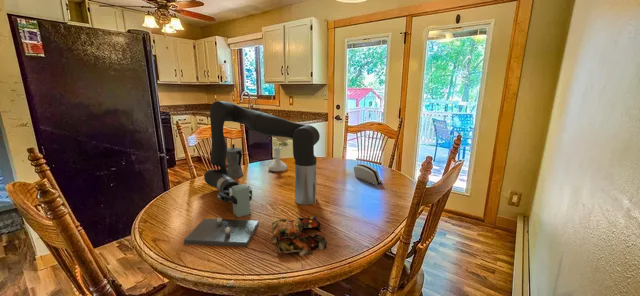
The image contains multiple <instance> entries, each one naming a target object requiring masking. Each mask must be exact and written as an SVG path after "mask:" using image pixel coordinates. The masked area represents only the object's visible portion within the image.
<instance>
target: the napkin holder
mask: <svg viewBox="0 0 640 296" xmlns="http://www.w3.org/2000/svg"><path fill="white" fill-rule="evenodd" d="M353 173H354V177H355V178H357V177H358V179H360V178H361V179H360V180H362V179H363V181H365V180H366V181H365V182H367V181H368V182H367V183H370V182H371V183H370V184H372V183H374V184H381V183H380V182H382V183H383V181H382V179H380V175H379V172H378V169H375V168H374V167H373V166H371V165H368V164H365V163H358V164H356V165H354V166H353ZM374 184H373V185H374Z"/></svg>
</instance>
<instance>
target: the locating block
mask: <svg viewBox="0 0 640 296" xmlns="http://www.w3.org/2000/svg"><path fill="white" fill-rule="evenodd" d="M248 186H249V185H246V184H245V183H242V184H239V185H237V186H232V195H233V196H234V197H235V198H236V199H237V204H236V205H235V204H233V203H232V213H233V214H234V215H235V216H236V217H237V218H241V217H245V216H247V215H251V201H250V199H249V187H248Z"/></svg>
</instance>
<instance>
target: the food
mask: <svg viewBox="0 0 640 296" xmlns="http://www.w3.org/2000/svg"><path fill="white" fill-rule="evenodd" d="M296 219H297V220H296V221H297V226H296V223H295V220H294V219H293V220H287V219H286V218H280V219H277V220H275V221H274V222H272V234H273V235H272V236H273V237H272V238H271V239H270V242H271V243H273V244H277V245H276V246H277V251H278V253H282V254H284V253H298V255H299V256H309V255H312V254H313V252H314V251H317V249H319V250H322V251H323V250H325V249H326V248H327V243H328V241H327V240H326V238H325V236H322V235H320V234H316V233H312V232H310V233H304V232H302V230H303V229H312V228H317V229H318V232H319V233H321V232H322V231H321V227H322V223H321V222H320V221H319V218H318V216H317V215H313V216H310V217H306V218H305V217H296ZM296 227H298V228H296ZM297 229H298V230H299V232H298V230H297Z"/></svg>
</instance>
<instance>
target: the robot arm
mask: <svg viewBox="0 0 640 296" xmlns="http://www.w3.org/2000/svg"><path fill="white" fill-rule="evenodd" d="M209 119H210V120H209V121H210V133H211V134H210V135H211V148H210V158H209V161H210V164H211V165H213V166H216V167H219V169H217V168H215V169H208V170H207V171H206V172H205V173H204V177H203V178H204V181H205V183H206V184H207V185H209V186H211V187H214V188H216V189H218V191H217V195H216V196H217V200H219V201H221V202H223V203H228V202H230V203H231V204H232V205H233V204H235V205H236V204H237V199H236V198H235V197H234V196H233V195H232V186H237V185H240V183H238V182H237V180H235V179H234V178H230V177H229V176H228V172H227V168H228V166H227V157H226V156H227V148H228V145H227V142H226V138H225V134H224V125H225V122H233V123H238V124H241V125H244V126H246V127H247V128H248V129H250V130H252V131H253V132H255V133H258V134H261V135H264V136H269V137H275V136H278V137H288V139H291V140H292V154H293V159H294V201H295V203H296V204H298V205H302V206H304V205H306V206H307V205H314V204H315V205H316V202H317V182H318V181H317V180H318V179H317V157H316V155H315V154H314V153H315V149H314V147H315V145H316V144H317V143H318V142H319V141H320V138H321V137H320V136H321V135H320V132H319V130H318V129H317V128H316V127H314V126H313V125H310V124H305V123H304V124H303V123H298V122H294V121H290V120H287V119H284V118H282V117H278V116H276V115H272V114H269V113H266V112H264V111H258V110H254V109H248V108H245V107H243V106H240V105H237V104H235V103H233V102H230V101H222V100H216V101H214V102H213V103H212V104H211V106H210V107H209ZM247 186H248V187H249V199H250V202H252V199H253V189H252V187H251V186H250V185H247Z"/></svg>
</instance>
